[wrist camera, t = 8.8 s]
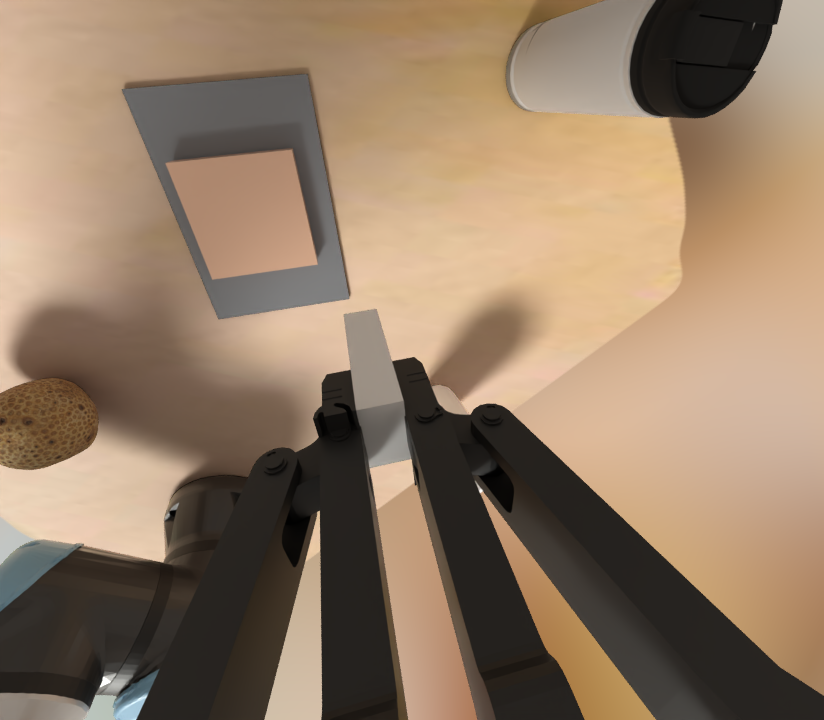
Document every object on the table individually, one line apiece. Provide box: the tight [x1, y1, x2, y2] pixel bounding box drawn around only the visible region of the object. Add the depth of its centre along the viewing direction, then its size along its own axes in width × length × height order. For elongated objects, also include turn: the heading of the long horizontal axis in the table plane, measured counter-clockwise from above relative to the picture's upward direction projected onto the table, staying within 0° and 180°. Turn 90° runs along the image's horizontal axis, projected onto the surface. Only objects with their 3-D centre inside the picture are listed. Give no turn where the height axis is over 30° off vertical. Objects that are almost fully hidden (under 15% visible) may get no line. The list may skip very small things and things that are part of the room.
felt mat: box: [122, 74, 349, 319], centre depth 36 cm, size 14×20×1 cm
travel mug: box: [506, 0, 783, 118], centre depth 26 cm, size 6×7×20 cm
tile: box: [166, 148, 318, 280], centre depth 35 cm, size 2×10×10 cm
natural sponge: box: [0, 378, 99, 470], centre depth 38 cm, size 9×9×10 cm
